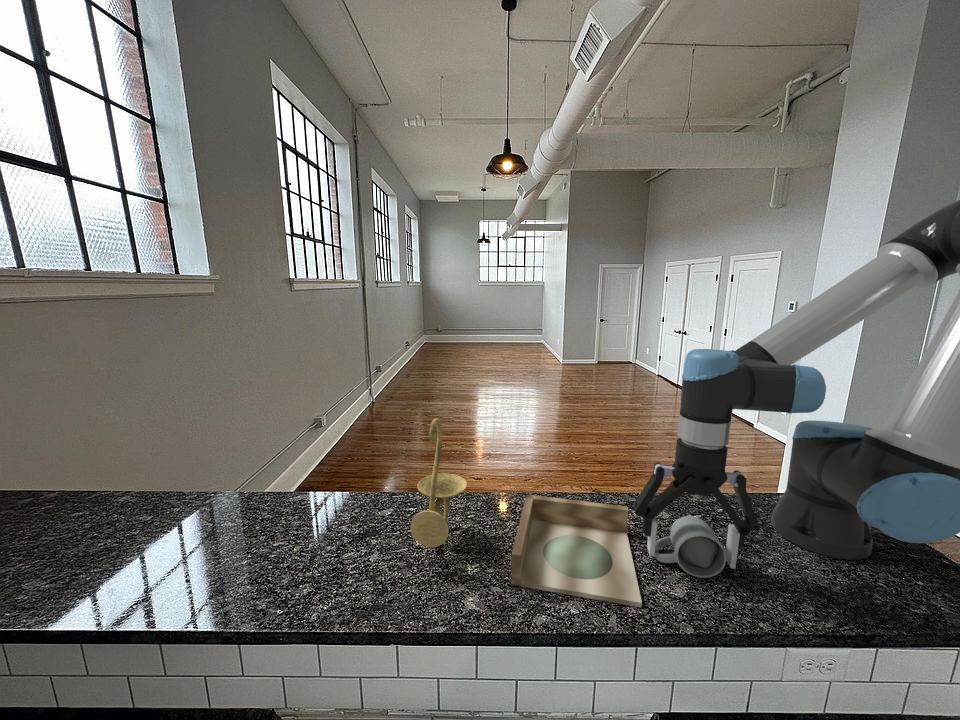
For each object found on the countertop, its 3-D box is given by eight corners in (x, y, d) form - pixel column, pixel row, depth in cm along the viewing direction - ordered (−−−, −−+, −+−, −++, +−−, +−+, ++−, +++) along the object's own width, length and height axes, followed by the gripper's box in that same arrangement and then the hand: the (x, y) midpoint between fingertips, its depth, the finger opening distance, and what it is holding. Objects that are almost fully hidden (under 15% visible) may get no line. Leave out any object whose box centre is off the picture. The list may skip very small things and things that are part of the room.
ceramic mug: (709, 551, 73) (713, 513, 72) (725, 582, 65) (729, 539, 64) (648, 543, 76) (650, 506, 75) (655, 571, 68) (658, 530, 67)
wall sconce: (456, 569, 68) (455, 430, 64) (403, 563, 69) (399, 427, 65) (470, 523, 82) (471, 406, 78) (426, 519, 83) (424, 404, 79)
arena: (625, 532, 79) (627, 506, 78) (641, 607, 60) (644, 575, 59) (525, 518, 84) (526, 494, 83) (510, 584, 64) (511, 554, 64)
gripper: (773, 440, 67) (757, 554, 71) (622, 427, 73) (615, 534, 76) (797, 457, 60) (778, 584, 64) (628, 442, 66) (619, 559, 69)
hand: (689, 557), depth 70 cm, fingers open, 12 cm apart
